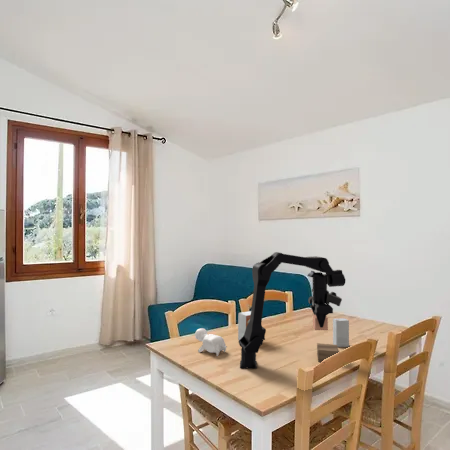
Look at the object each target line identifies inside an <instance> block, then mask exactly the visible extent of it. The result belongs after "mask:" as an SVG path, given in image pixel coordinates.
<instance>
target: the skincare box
mask: <svg viewBox="0 0 450 450" xmlns="http://www.w3.org/2000/svg"><path fill="white" fill-rule="evenodd" d="M349 342H350V320H349V319H347V318H344V317H343V318H342V317H341V318H332V344H333V345H337V346H338V348H345V347H346V348H349V347H350V343H349Z"/></svg>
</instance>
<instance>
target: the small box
mask: <svg viewBox="0 0 450 450" xmlns="http://www.w3.org/2000/svg"><path fill="white" fill-rule="evenodd" d="M250 316H251V310H250V311H249V310H248V311H243V312H238V317H237V318H238V320H237V321H238V322H237V323H238V324H237V326H238V327H237V341H239V340H240V339H241V338H242V337H243V336H244V333H245V330H246V327H247V325H248V323H249V321H250Z"/></svg>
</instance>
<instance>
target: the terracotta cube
mask: <svg viewBox="0 0 450 450" xmlns="http://www.w3.org/2000/svg"><path fill="white" fill-rule="evenodd" d="M328 320H329V317H327V316H326V318H325V322H324V326H323V327H320V325H319V323H318V320H317V317H316V315H314V314H312V327H313V329H314V331H329V321H328Z"/></svg>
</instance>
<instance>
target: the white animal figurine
mask: <svg viewBox="0 0 450 450" xmlns="http://www.w3.org/2000/svg"><path fill="white" fill-rule="evenodd" d="M194 337H195V339H196V340H197V341H198V342H202V345H201V346H200V347H198V348H199V349H198V350H197V352H198V353H201V352H203V351H207V352H208V353H211V354H212V353H214V354H216V357H218V356H219V354H220V352H221V351H222V352H223V353H226V351H227V348H228V346H226V342H225V339H224V338H223V336H220V335H217V334H212V333H209V334H208V330H206V329H205V328H203V327H201V328H198V329H197V330H196V331H195V333H194Z"/></svg>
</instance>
